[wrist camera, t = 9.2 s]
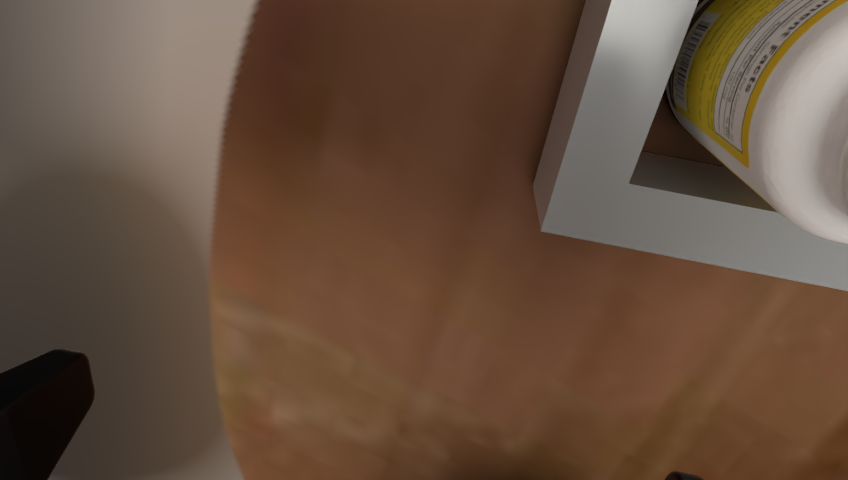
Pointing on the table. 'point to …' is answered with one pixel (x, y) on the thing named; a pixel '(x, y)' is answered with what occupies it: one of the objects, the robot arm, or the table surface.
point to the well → (655, 160)
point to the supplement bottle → (772, 102)
